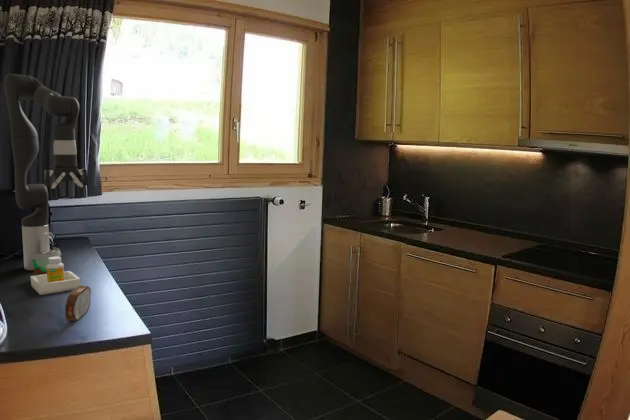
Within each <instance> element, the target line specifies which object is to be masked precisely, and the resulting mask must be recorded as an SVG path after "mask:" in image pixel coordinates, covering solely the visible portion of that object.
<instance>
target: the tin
mask: <svg viewBox="0 0 630 420" xmlns="http://www.w3.org/2000/svg"><path fill="white" fill-rule="evenodd" d="M91 293H92V291H91V288H90V286H88V285H87V286H86V285H82V284H81V285H80V286H79V287H77V288H76V289H75V290H71V292H70V293H69V294H68V296H67V298H66V301H65V302H66V303H65V308H64V314H65V315H64V316H65V319H66V321H68V322H69V321H70V322H73V321H74V322H78V321H79V320H80V319H81V318H82V317H83V316H85V315H86V314H87V312H88V311H89V310H90V305H91Z"/></svg>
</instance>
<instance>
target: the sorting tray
mask: <svg viewBox="0 0 630 420" xmlns="http://www.w3.org/2000/svg"><path fill="white" fill-rule="evenodd" d="M81 283H82V282H81V278H80V277H79V276H78V275H76V274H75V273H74V272H72V271H71V270H66V271H65V270H64V281H57V282H50V283H47V274H43V275H36V276H35V275H30V286H31V287H32V288H33V290H35V292H36V293H37V294H39V296H42V295H49V294H56V293H62V292H67V291H73V290H75V289H76V288H77V287H79V286H80V285H81V286H82V284H81Z"/></svg>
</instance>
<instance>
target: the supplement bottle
mask: <svg viewBox="0 0 630 420" xmlns="http://www.w3.org/2000/svg"><path fill="white" fill-rule="evenodd" d="M48 261H49V264H48V265H47V283H50V282H57V281H64V272H65V267H64V265H65V264H64V263H63V262H62V257H61V256H59V257H58V256H56V257H50V258H48Z"/></svg>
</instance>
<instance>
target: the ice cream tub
mask: <svg viewBox="0 0 630 420" xmlns="http://www.w3.org/2000/svg"><path fill="white" fill-rule="evenodd" d="M56 256H58V257H61V256H62V253H61V250H60V248H58V247H54V246H52V249H50V251H44V252H41V253H39V254H32V255H31V259H32V260H33V267H34V270H33V273H34V275H33V276H36V275H43V274H47V265H48V264H49V261H48V258H50V257H56Z"/></svg>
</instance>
